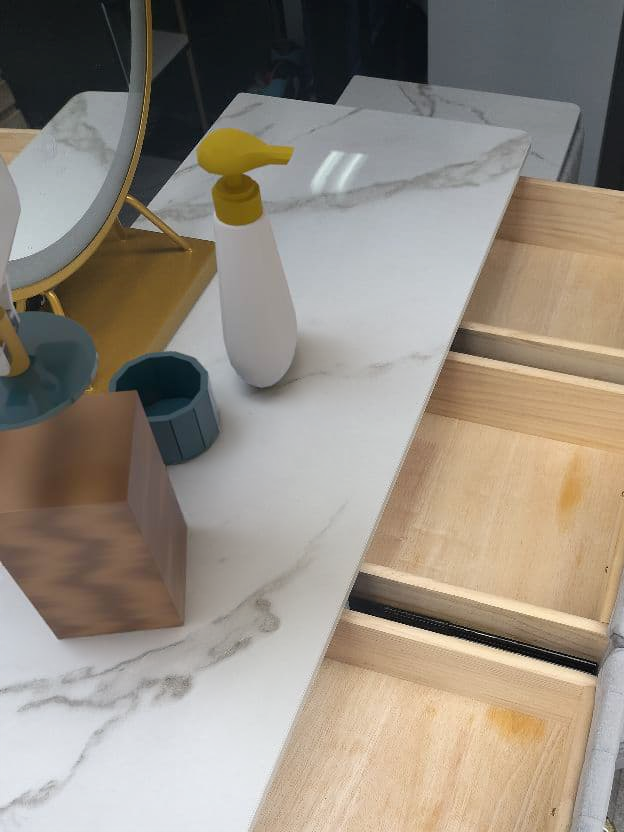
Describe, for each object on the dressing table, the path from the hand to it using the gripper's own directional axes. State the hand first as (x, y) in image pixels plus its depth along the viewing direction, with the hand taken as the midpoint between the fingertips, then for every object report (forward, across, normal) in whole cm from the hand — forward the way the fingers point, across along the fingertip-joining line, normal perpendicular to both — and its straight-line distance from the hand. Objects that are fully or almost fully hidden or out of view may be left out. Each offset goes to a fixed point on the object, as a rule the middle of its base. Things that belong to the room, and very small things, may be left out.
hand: (4, 350), depth 57 cm
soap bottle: (+31, -29, +16) cm, 45 cm away
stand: (+30, 0, 0) cm, 30 cm away
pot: (+30, -20, +4) cm, 37 cm away
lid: (+2, 0, 0) cm, 2 cm away
